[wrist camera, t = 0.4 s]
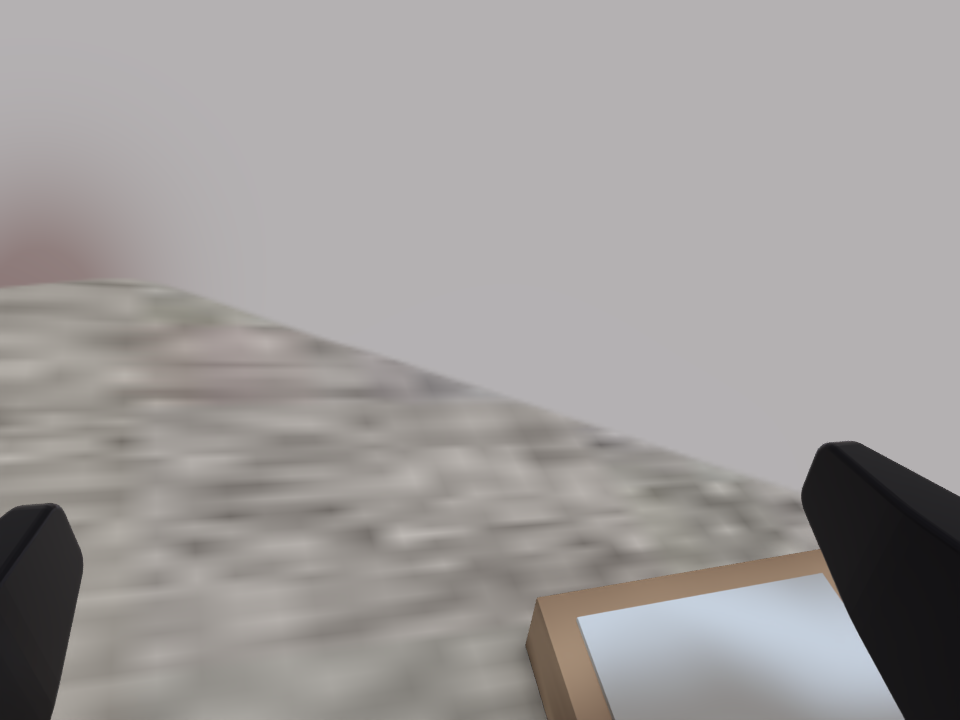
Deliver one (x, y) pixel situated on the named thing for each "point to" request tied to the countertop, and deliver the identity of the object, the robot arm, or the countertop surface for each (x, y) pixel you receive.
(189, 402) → the countertop surface
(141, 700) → the countertop surface
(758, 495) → the countertop surface
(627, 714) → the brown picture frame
